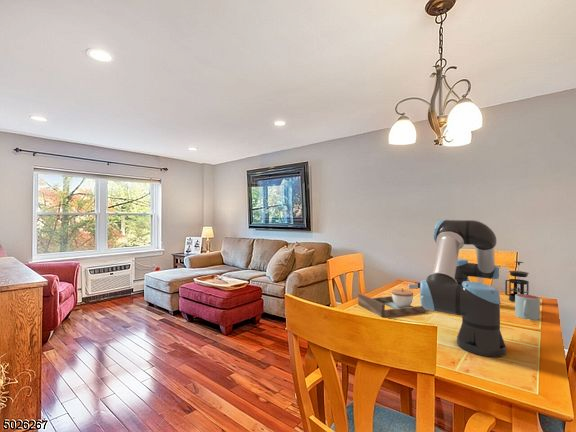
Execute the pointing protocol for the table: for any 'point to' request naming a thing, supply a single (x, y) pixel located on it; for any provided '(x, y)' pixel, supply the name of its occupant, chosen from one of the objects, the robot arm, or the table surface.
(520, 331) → the table surface
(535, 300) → the mug
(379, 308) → the bay
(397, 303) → the lidded jar
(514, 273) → the french press
